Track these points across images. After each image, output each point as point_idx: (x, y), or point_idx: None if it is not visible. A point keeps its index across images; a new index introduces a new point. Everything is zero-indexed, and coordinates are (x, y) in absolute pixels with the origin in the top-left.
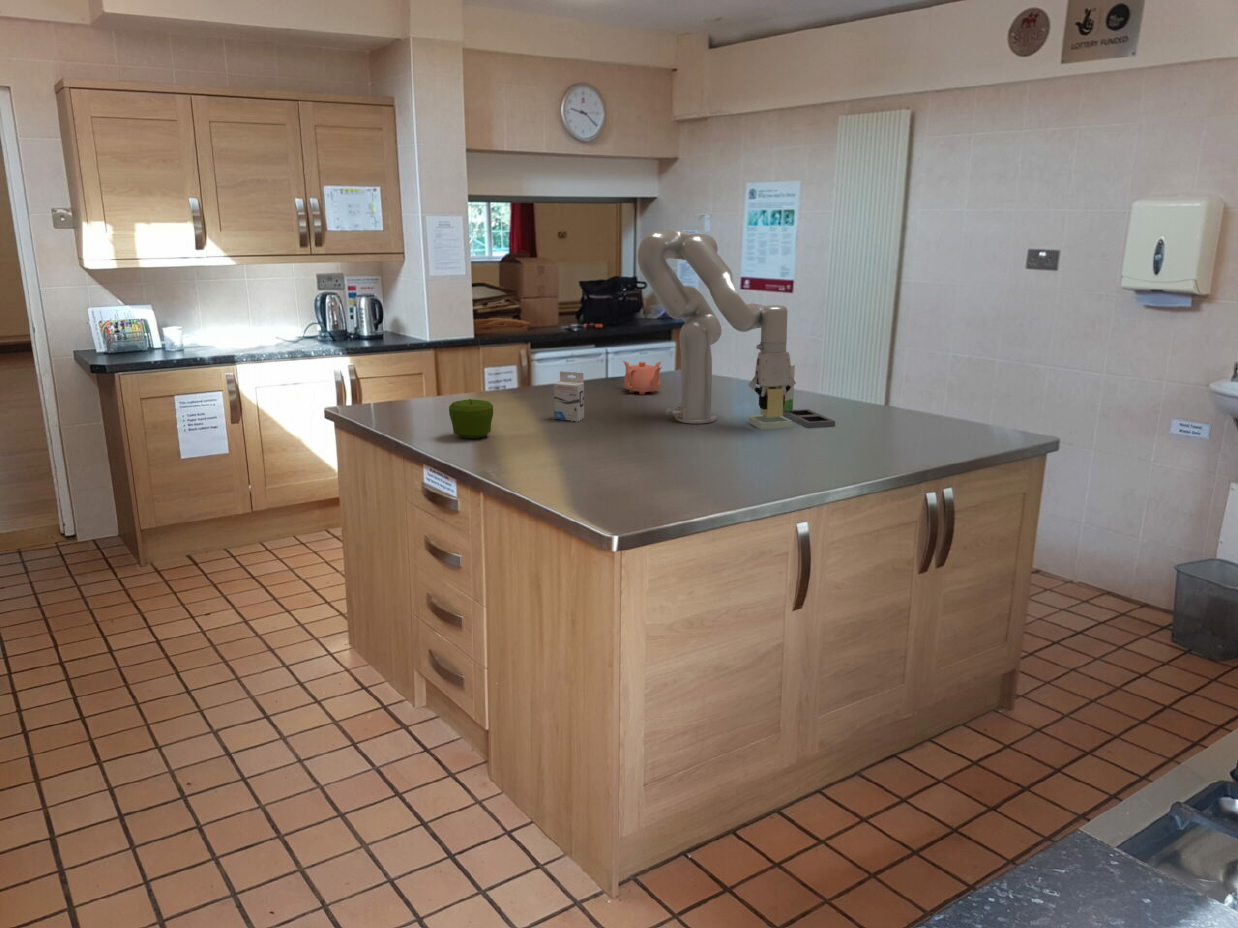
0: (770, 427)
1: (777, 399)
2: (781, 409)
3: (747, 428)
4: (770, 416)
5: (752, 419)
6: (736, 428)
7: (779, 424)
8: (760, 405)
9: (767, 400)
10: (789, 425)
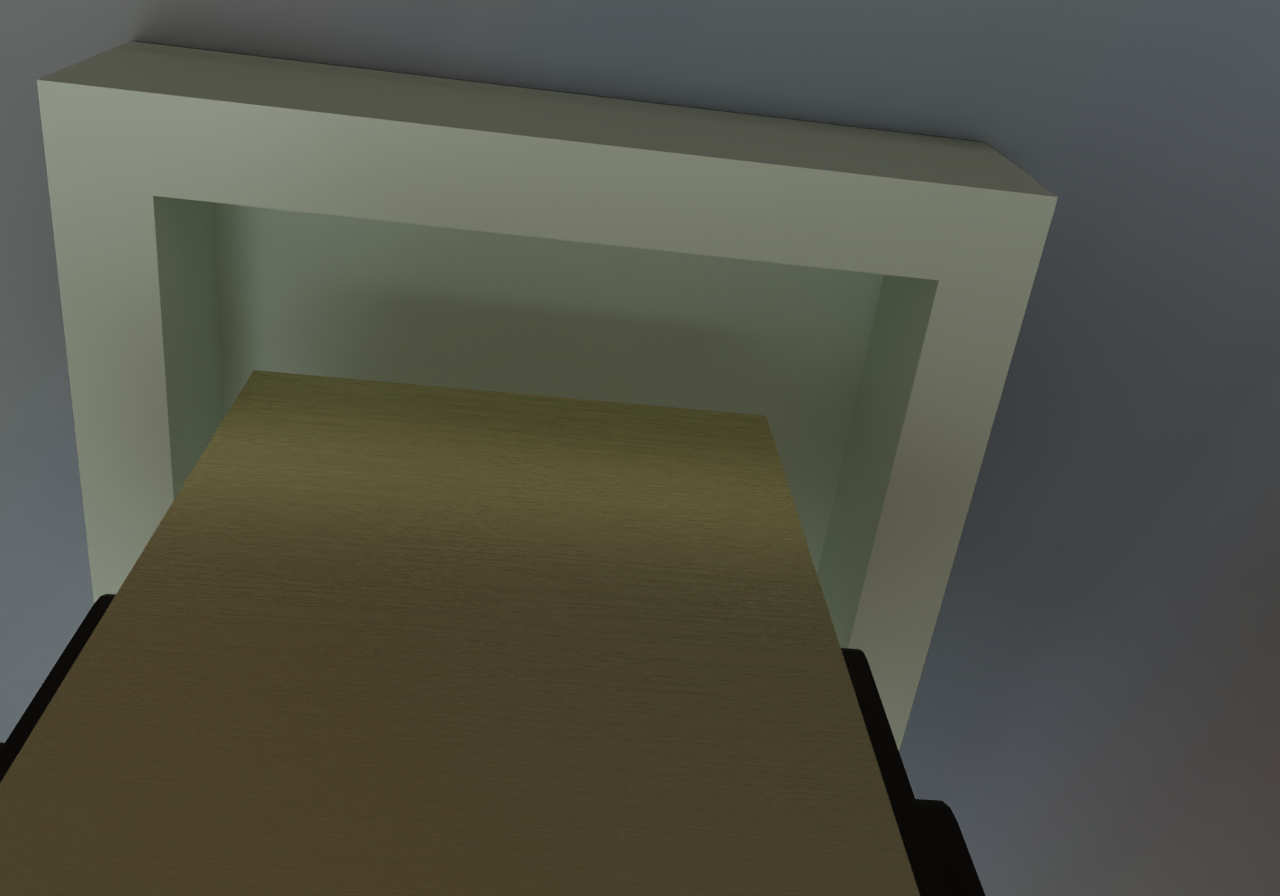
0: (755, 132)
1: (353, 775)
2: (247, 480)
3: (1055, 506)
4: (662, 420)
5: (901, 703)
6: (1248, 576)
7: (491, 114)
8: (940, 829)
9: (877, 809)
10: (180, 73)
